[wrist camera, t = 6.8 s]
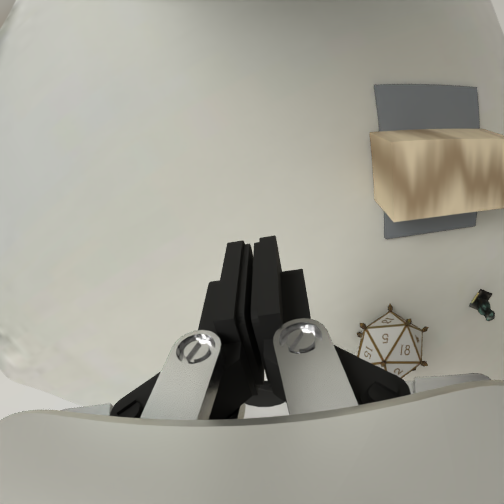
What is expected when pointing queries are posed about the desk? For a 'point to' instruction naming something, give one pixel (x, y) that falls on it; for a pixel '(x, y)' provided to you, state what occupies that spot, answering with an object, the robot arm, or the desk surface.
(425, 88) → the slate mat
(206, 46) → the desk surface
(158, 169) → the desk surface
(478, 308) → the sculpture
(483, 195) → the maple block
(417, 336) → the game die
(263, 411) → the white and black cylinder
